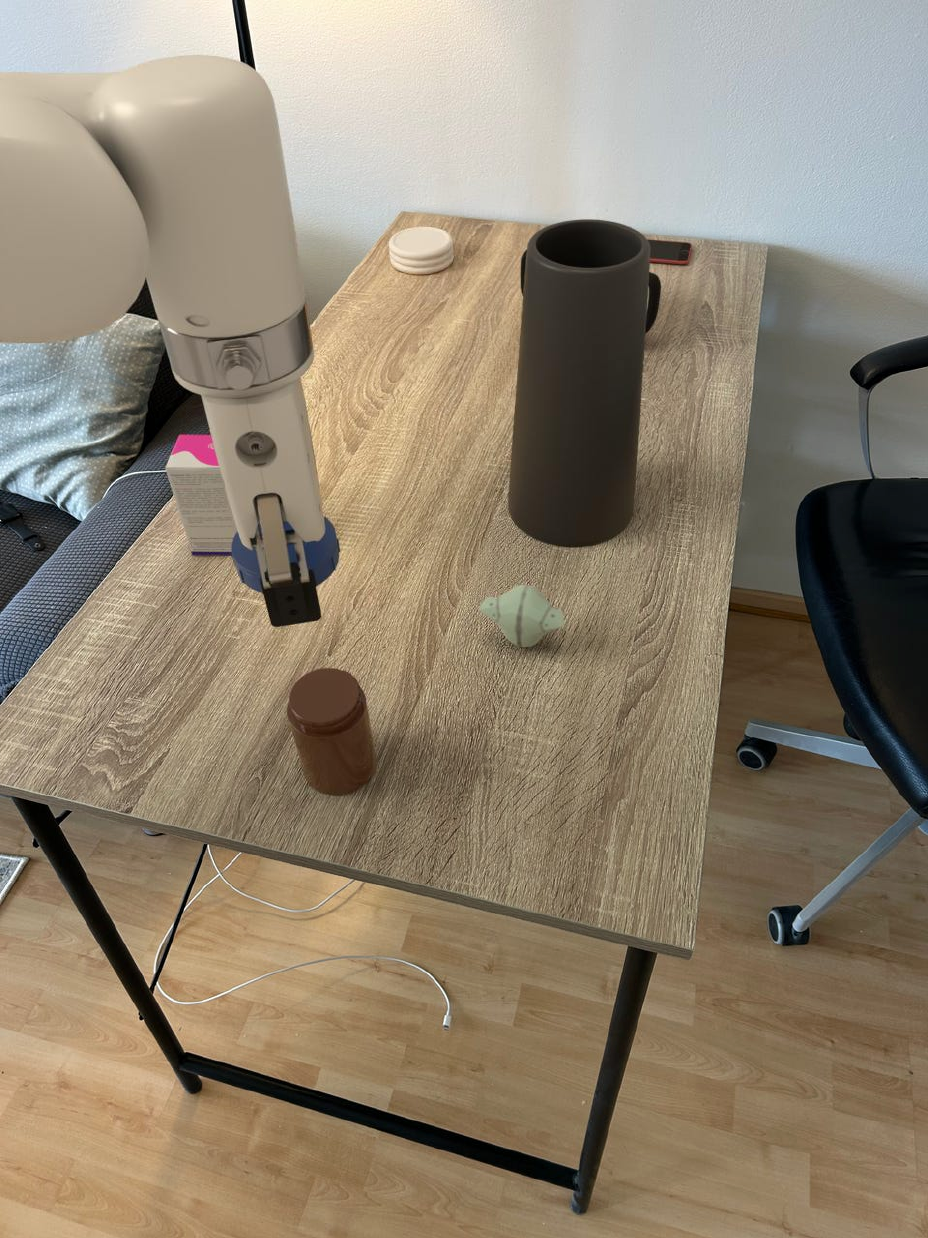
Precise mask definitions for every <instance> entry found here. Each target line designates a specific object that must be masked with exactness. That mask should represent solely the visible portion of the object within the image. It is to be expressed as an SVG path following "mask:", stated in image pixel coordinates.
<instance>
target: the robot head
mask: <svg viewBox="0 0 928 1238" xmlns="http://www.w3.org/2000/svg"><path fill="white" fill-rule="evenodd" d="M477 611H478V612H480V614H482V615H484V616H485V617H486V618H488V619H490V620H491V621H493V622H494V623H495V624H496V625H497V626H498V627H499V628H500V629H501V631H502V633H503V635H504V637H505V639H507V641H509V643H511V644H512V645H515V646H518V647H520V648H532V647H533V646H535V645H536V644H538V643H539V642H540V641H541V640H542V638H543V637H544V636H545V635H547V634H548V633H550V632H553V631H555V630H559V629H562V628H565V621H564V620H565V619H564V612H563V610H560V609H558V608H555V607H554V606H553V605H552V604H551V603H550V601H549V600H548V599H547V598H546V596H544V595H543V594H542V592H541V591H540V590H539V588H537V587H535V586H532V585H529V584H519V585H517V586H515V587H513V588H512V589H509V590H508V591H506V592H504V593H502V594H501V595H499V596H486V597H485V599H483V602H481V604H480V606H479V607H478V608H477Z"/></svg>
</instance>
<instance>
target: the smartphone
mask: <svg viewBox="0 0 928 1238" xmlns="http://www.w3.org/2000/svg"><path fill="white" fill-rule="evenodd" d="M646 239H647V240H648V242H649V244H650V263H659V264H660V263H661V264H672V265H682V266H683V265H688V264H689V262H690V258H691V255H692V249H693V244H692V243H690V242H687V241H676V240H663V239H662V240H661V239H650V238H646Z"/></svg>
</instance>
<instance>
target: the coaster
mask: <svg viewBox="0 0 928 1238" xmlns="http://www.w3.org/2000/svg"><path fill="white" fill-rule="evenodd" d="M388 248H389V251H388V254H389V261H390V265H391V266H392V267H393V268H394V269H396V270H397V271H399V272H401V273H405V274H408V275H418V276H419V275H421V276H422V275H430V274H435V273H439V272H442V271H443V270H445V269H447V268H448V267H450V265H452V263H453V262H454V259H455V253H454V250H455V248H454V238H453V236H452V235H451V234H450V232H448V231H446V230H444V229H441V228H439V227H434V226H414V227H408V228H405V229H402V230H400V231H397V232H396V233H395V234H393V235H392V237H390V239H389V241H388Z"/></svg>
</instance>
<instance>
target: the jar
mask: <svg viewBox="0 0 928 1238" xmlns="http://www.w3.org/2000/svg"><path fill="white" fill-rule="evenodd" d="M286 716H287V721H288V724H289V727H290V730H291V734H292V738H293V741H294V745H295V748H296V751H297V754H298V755H297V756H298V758H299V762H300V766H301V768H302V772H303V776H304V778H305V780H306V782H307V784H308V785H309V786H310V787H311V788H312V789H313V790H315V791H317V792H318V793H322V794H324V795H327V796H344V795H349V794H352V793H354V792H356V791H358V790H360V789H362V788H363V787H364V786H365V785H367V783H369V782H370V781H371V779H372V778H373V775H374V774H375V772H376V769H377V765H378V764H377V763H378V757H377V751H376V747H375V740H374V735H373V729H372V723H371V719H370V714H369V707H368V703H367V697H366V694H365V691H364V690H363V688H362V687H361V685H360V684H359V682H358V680H357V678H355V676H353V675H352V673H351V672H348V671H346V670H344V669H339V668H333V667H324V668H323V667H322V668H318V669H314V670H312V671H309V672H307V673H305V674H303V675H302V676H300V678H298V679H297V680H296V681H295V683H294V684H293V685H292V687H291V689H290V692H289V694H288V702H287V706H286Z"/></svg>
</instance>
